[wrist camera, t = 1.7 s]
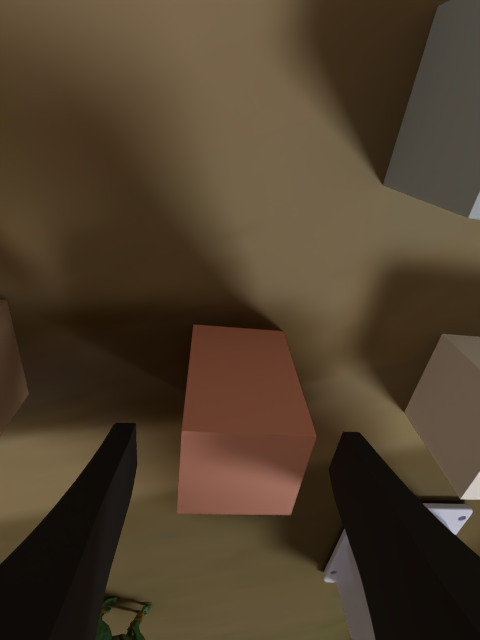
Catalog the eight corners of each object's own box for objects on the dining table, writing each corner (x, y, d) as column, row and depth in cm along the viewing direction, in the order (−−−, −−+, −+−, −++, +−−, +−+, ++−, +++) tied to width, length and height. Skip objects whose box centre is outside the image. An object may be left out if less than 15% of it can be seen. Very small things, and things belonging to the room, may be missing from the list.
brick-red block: (268, 398, 18) (290, 514, 12) (188, 393, 17) (176, 513, 12) (282, 331, 16) (316, 436, 10) (193, 324, 15) (181, 430, 10)
